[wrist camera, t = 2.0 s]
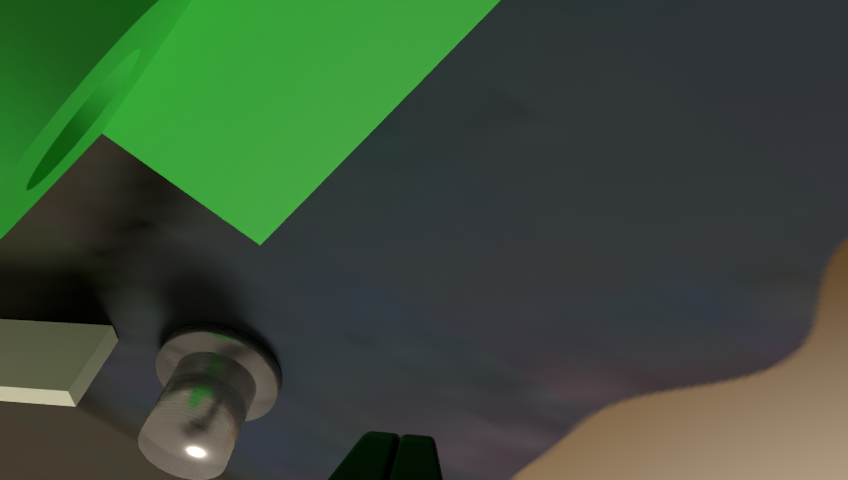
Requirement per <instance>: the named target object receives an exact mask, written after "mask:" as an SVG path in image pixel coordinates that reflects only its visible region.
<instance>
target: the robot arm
mask: <svg viewBox="0 0 848 480" xmlns="http://www.w3.org/2000/svg"><path fill="white" fill-rule="evenodd" d="M328 480H443V478H442V473H441V468H440V463H439V458H438V453H437V448H436V443H435V440H434V439H433V438H432V437H431V436H422V435H410V434H406V435H403V436H401V438H400V437H399V435H397V434H395V433H386V432H374V431H371V432H367V433H366V434H364V435H363V436H362V437H361V438H360V440H359V441H358V442H357V443H356V445H355V446H354V447H353V448H352V450H351V451H350V452H349V454H348V455H347V456H346V457H345V459H344V460H343V461H342V462H341V464H340V465H339V466H338V467H337V469H336V470H335V471H334V473H333V474H332V475H331V476H330V478H329V479H328Z"/></svg>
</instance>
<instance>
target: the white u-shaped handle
mask: <svg viewBox="0 0 848 480" xmlns="http://www.w3.org/2000/svg"><path fill="white" fill-rule="evenodd" d="M117 342H118V338H117V336H116V333H115V331H114V329H113V326H111V325H94V324H77V323H60V322H43V321H26V320H9V319H0V401H11V402H24V403H37V404H50V405H63V406H76V405H77V404H78V402H79V401H80V399H81V398H82V396H83V395H84V393H85V391H86V390H87V388H88V387H89V385H90V384H91V382H92V381H93V379H94V378H95V376H96V374H97V373H98V371H99V370H100V368H101V367H102V365H103V364H104V362H105V361H106V359H107V357H108V356H109V354H110V353H111V351H112V350H113V348H114V347H115V345H116V344H117Z"/></svg>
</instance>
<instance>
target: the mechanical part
mask: <svg viewBox="0 0 848 480" xmlns="http://www.w3.org/2000/svg"><path fill="white" fill-rule="evenodd" d="M499 1H500V0H0V239H1V238H2V237H3V236H4V235H5V234H6V233H7V232H8V231H9V230H10V229H11V228H12V227H13V226H14V225H15V224H16V223H17V222H18V221H19V220H20V219H21V218H22V217H23V215H24V214H25V213H26V212H27V211H28V210H29V209H30V208H31V207H32V206H33V205H34V204H35V203H36V202H37V201H38V200H39V199H40V198H41V197H42V196H43V194H44V193H45V192H46V191H47V190H48V189H49V188H50V187H51V186H52V185H53V184H54V183H55V182H56V181H57V180H58V179H59V178H60V177H61V176H62V175H63V174H64V172H65V171H66V170H67V169H68V168H69V167H70V166H71V165H72V164H73V163H74V162H75V161H76V160H77V159H78V158H79V157H80V156H81V155H82V154H83V153H84V152H85V150H86V149H87V148H88V147H89V146H90V145H91V144H92V143H93V142H94V141H95V140H96V139H97V138H98V137H99V136H100V135H101V134H102V133H103V134H104V135H105V136H107V137H108V138H110V139H111V140H112V141H114V142H115V143H117V144H118V145H119V146H121V147H122V148H124V149H125V150H127V151H128V152H129V153H131V154H132V155H134V156H135V157H136V158H138V159H139V160H141V161H142V162H143V163H145V164H146V165H148V166H149V167H151V168H152V169H153V170H155V171H156V172H158V173H159V174H160V175H162V176H163V177H165V178H166V179H167V180H169V181H170V182H172V183H173V184H174V185H176V186H177V187H179V188H180V189H182V190H183V191H184V192H186V193H187V194H189V195H190V196H191V197H193V198H194V199H196V200H197V201H198V202H200V203H201V204H203V205H204V206H206V207H207V208H208V209H210V210H211V211H213V212H214V213H215V214H217V215H218V216H220V217H221V218H222V219H224V220H225V221H227V222H228V223H229V224H231V225H232V226H234V227H235V228H237V229H238V230H239V231H241V232H242V233H244V234H245V235H246V236H248V237H249V238H251V239H252V240H253V241H255V242H256V243H258V244H259V245H261V244H262V243H263V242H264V241H265V240H266V239H267V238H268V237H269V236H270V235H271V234H272V233H273V232H274V231H275V230H276V229H277V228H278V227H279V226H280V225H281V224H282V223H283V222H284V220H285V219H286V218H287V217H288V216H289V215H290V214H291V213H292V212H293V211H294V210H295V209H296V208H297V207H298V206H299V205H300V204H301V203H302V202H303V201H304V200H305V199H306V198H307V197H308V196H309V195H310V194H311V193H312V192H313V191H314V190H315V189H316V188H317V187H318V186H319V185H320V184H321V183H322V182H323V181H324V180H325V179H326V178H327V177H328V176H329V175H330V174H331V173H332V172H333V171H334V169H335V168H336V167H337V166H338V165H339V164H340V163H341V162H342V161H343V160H344V159H345V158H346V157H347V156H348V155H349V154H350V153H351V152H352V151H353V150H354V149H355V148H356V147H357V146H358V145H359V144H360V143H361V142H362V141H363V140H364V139H365V138H366V137H367V136H368V135H369V134H370V133H371V132H372V131H373V130H374V129H375V128H376V127H377V126H378V125H379V124H380V123H381V122H382V121H383V120H384V118H385V117H386V116H387V115H388V114H389V113H390V112H391V111H392V110H393V109H394V108H395V107H396V106H397V105H398V104H399V103H400V102H401V101H402V100H403V99H404V98H405V97H406V96H407V95H408V94H409V93H410V92H411V91H412V90H413V89H414V88H415V87H416V86H417V85H418V84H419V83H420V82H421V81H422V80H423V79H424V78H425V77H426V76H427V75H428V74H429V73H430V72H431V71H432V70H433V69H434V67H435V66H436V65H437V64H438V63H439V62H440V61H441V60H442V59H443V58H444V57H445V56H446V55H447V54H448V53H449V52H450V51H451V50H452V49H453V48H454V47H455V46H456V45H457V44H458V43H459V42H460V41H461V40H462V39H463V38H464V37H465V36H466V35H467V34H468V33H469V32H470V31H471V30H472V29H473V28H474V27H475V26H476V25H477V24H478V23H479V22H480V21H481V20H482V19H483V18H484V17H485V15H486V14H487V13H488V12H489V11H490V10H491V9H492V8H493V7H494V6H495V5H496V4H497V3H498V2H499Z"/></svg>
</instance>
